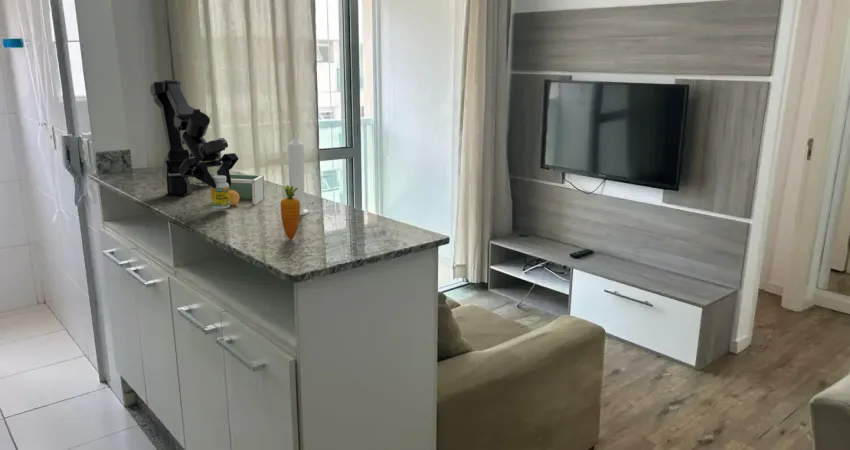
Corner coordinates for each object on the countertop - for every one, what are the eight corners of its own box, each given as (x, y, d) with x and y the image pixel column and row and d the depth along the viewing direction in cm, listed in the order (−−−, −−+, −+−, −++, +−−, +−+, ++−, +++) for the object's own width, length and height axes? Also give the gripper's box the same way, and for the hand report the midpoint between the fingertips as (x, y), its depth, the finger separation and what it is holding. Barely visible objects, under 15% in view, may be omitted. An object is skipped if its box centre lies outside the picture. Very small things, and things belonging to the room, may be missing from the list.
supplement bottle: (227, 204, 197) (225, 174, 195) (232, 207, 193) (231, 177, 190) (209, 205, 194) (208, 175, 192) (214, 209, 190) (213, 178, 188)
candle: (312, 211, 198) (312, 132, 192) (301, 216, 191) (300, 134, 185) (293, 209, 200) (291, 131, 194) (281, 214, 193) (279, 133, 187)
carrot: (282, 237, 169) (281, 182, 165) (301, 237, 169) (300, 183, 165) (280, 242, 164) (278, 186, 160) (299, 242, 164) (298, 186, 160)
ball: (221, 206, 200) (220, 191, 199) (226, 203, 205) (226, 188, 204) (236, 207, 200) (236, 192, 199) (241, 204, 205) (241, 189, 204)
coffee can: (210, 180, 242) (208, 143, 239) (228, 183, 237) (226, 146, 233) (187, 183, 234) (185, 146, 230) (205, 187, 228) (203, 149, 225)
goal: (213, 202, 205) (212, 178, 203) (224, 196, 214) (223, 173, 212) (255, 204, 205) (254, 180, 203) (264, 198, 214) (263, 175, 212)
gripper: (182, 131, 182) (209, 174, 179) (233, 127, 197) (258, 166, 194) (167, 155, 188) (192, 196, 185) (218, 149, 203) (242, 187, 200)
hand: (222, 186), depth 191 cm, fingers closed on supplement bottle, 5 cm apart
